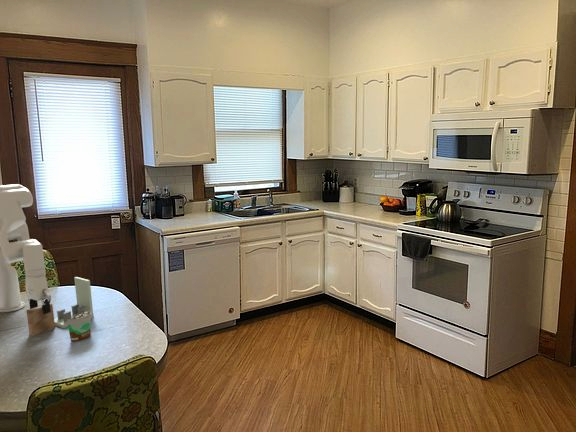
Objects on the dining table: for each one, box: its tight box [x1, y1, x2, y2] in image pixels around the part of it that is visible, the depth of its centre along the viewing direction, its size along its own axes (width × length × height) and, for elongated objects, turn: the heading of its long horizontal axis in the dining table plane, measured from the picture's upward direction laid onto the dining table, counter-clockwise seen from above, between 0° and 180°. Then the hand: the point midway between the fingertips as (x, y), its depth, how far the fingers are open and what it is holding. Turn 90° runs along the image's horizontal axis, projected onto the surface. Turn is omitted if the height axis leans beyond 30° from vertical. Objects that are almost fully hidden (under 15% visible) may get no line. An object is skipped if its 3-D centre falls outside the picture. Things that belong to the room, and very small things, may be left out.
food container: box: [67, 309, 93, 343], centre depth 204 cm, size 12×6×10 cm, turn 168°
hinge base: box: [54, 276, 95, 329], centre depth 222 cm, size 15×10×18 cm, turn 146°
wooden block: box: [26, 302, 56, 337], centre depth 211 cm, size 10×3×11 cm, turn 146°
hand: (40, 311), depth 210 cm, fingers open, 9 cm apart
